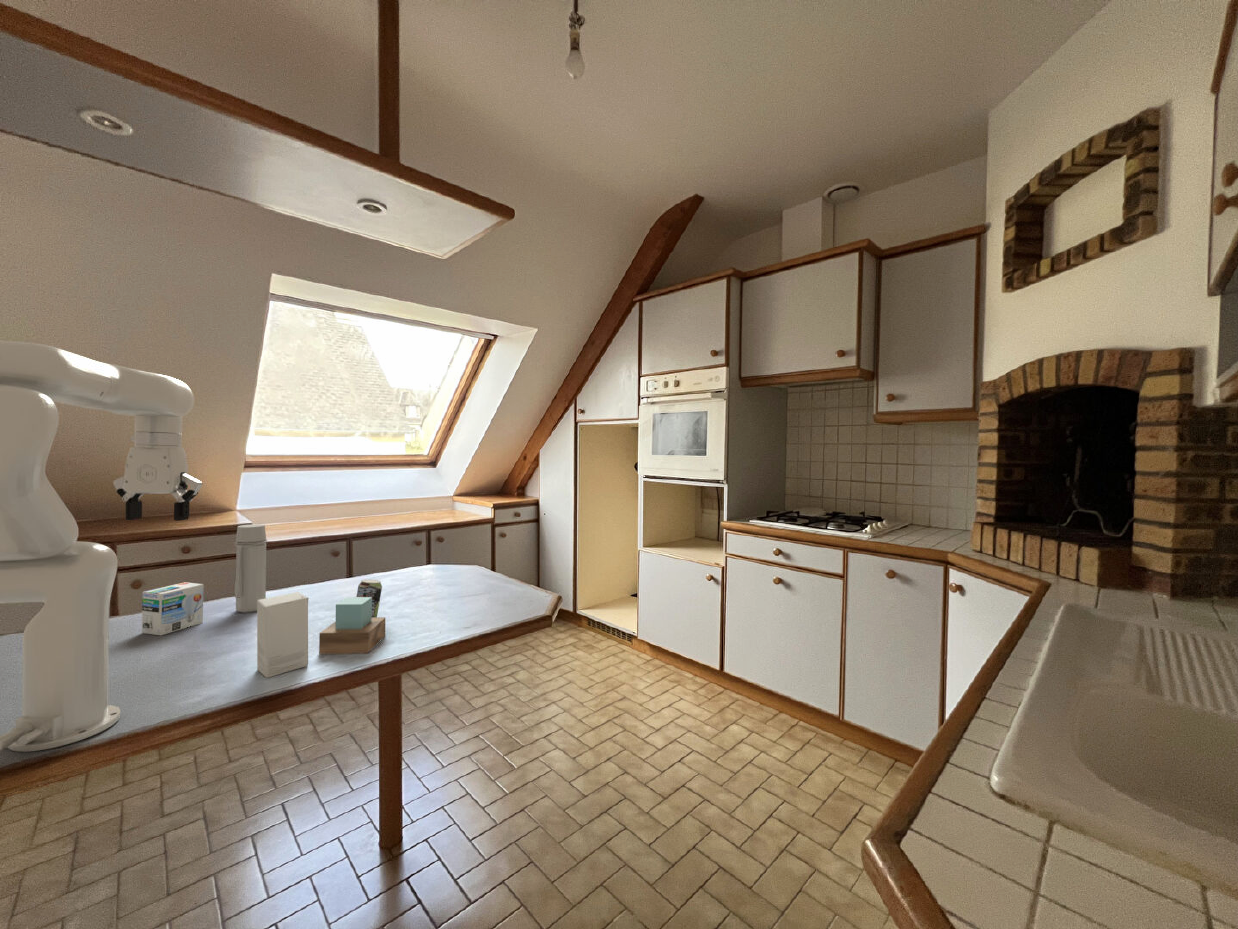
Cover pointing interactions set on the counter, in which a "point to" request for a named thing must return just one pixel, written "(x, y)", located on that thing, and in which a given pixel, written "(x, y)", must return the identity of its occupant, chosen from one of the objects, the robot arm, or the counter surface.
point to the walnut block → (351, 638)
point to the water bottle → (250, 567)
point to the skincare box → (282, 634)
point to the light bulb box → (172, 608)
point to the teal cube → (353, 613)
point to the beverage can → (371, 593)
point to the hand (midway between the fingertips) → (157, 519)
